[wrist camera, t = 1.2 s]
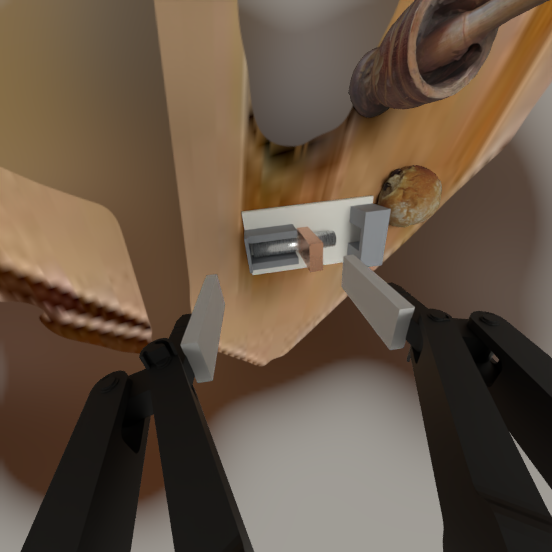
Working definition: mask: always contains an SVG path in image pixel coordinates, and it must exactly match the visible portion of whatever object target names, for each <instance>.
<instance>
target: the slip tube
mask: <svg viewBox="0 0 552 552" xmlns="http://www.w3.org/2000/svg"><path fill="white" fill-rule="evenodd" d="M335 245H336V235H335V232H334V231H326V232H319V233H313V232H312V231H311V230H310V228H309V227H301V228H297V238H289V239H282V240H274V241H267V242H259V243H252V247H253V254H254V258H255V257H262V256H269V255H276V254H284V253H291V252H299V254H300V255H301V257H302V259H303V261H304V262H305V264H306V266H307V268H308V269H309V271H310V272H314V271H321V270H323V248H327V247H334V246H335Z"/></svg>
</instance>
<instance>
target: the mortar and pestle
mask: <svg viewBox="0 0 552 552" xmlns="http://www.w3.org/2000/svg"><path fill="white" fill-rule="evenodd" d="M546 1H549V0H415V1H414V2H413V3H412V4H411V5H410V6H409V7H408V8H407V9H406V10H405V11H404V12H403V13H402V15H401V16H400V17H399V18H398V19H397V21H396V22H395V23H394V24H393V25H392V26H391V28H390V29H389V31H388V33H387V34H386V36H385V38H384V40H383V41H382V43H381V45H380V47H378V48H375V49H372V50H371V51H369V52H368V53H366V54H365V55H364V56H363V57H362V59H361V60H360V61H359V63H358V64H357V66H356V68H355V70H354V72H353V75H352V78H351V82H350V87H349V92H348V93H349V95H350V98H351V102H352V104H353V106H354V107H355V109H356V110H357V111H358V112H359V114H361V115H362V116H365V117H369V118H371V117H375V116H378V115H380V114H382V113H383V112H385V111H386V110H388V109H389V108H394V109H409V108H414V107H418V106H421V105H424V104H427V103H431V102H435V101H438V100H442V99H445V98H447V97H449V96H452V95H454V94H456V93H457V92H459V91H460V90H461V89H462V88H463V87H465V86H466V85H467V84H469V82H470V80H472V79H473V78H474V77H475V76H476V74H477V73H478V71H479V70H480V68H481V66H482V65H483V63H484V62H485V60H486V59H487V57H488V55H489V53H490V50H491V47H492V44H493V41H494V39H495V37H496V34H497V31H498V28H499V26H501V25H502V24H504V23H506V22H507V21H509V20H510V19H512V18H514V17H516V16H518V15H520V14H522V13H524V12H526V11H528V10H530V9H532V8H534V7H536V6H538V5H540V4H542V3H544V2H546Z"/></svg>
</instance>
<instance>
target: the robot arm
mask: <svg viewBox="0 0 552 552" xmlns="http://www.w3.org/2000/svg"><path fill="white" fill-rule="evenodd" d="M342 288H343V289H344V291H345V292H346V293H347V294H348V296H349V297H350V298H351V300H352V301H353V302H354V304H355V305H356V306H357V308H358V309H359V310H360V311H361V313H362V314H363V315H364V317H365V318H366V319H367V321H368V322H369V323H370V324H371V326H372V327H373V329H374V330H375V331H376V332H377V334H378V335H379V336H380V338H381V339H382V340H383V341H384V343H385V344H386V346H387V347H388V348H389V349H390V350H394V349H399V348H404V344H405V341H406V340H407V341H408V342H409V343H410V344H411V347H410V350H409V353H408V357H407V361H408V362H409V361H410V358H411V361H412V365H413V371H414V376H415V381H416V386H417V391H418V396H419V401H420V406H421V411H422V416H423V421H424V426H425V431H426V436H427V441H428V447H429V451H430V457H431V462H432V466H433V471H434V477H435V482H436V487H437V492H438V497H439V501H440V507H441V512H442V517H443V525H444V531H443V552H552V516H551V515H550V513H549V511H548V509H547V507H546V506H545V504H544V501H543V499H542V497H541V495H540V493H539V491H538V489H537V487H536V485H535V483H534V481H533V479H532V477H531V475H530V473H529V471H528V469H527V467H526V465H525V463H524V461H523V459H522V457H521V455H520V453H519V451H518V449H517V447H516V445H515V443H514V441H513V439H512V437H511V435H512V436H513V437H514V439H515V440H516V441H517V443H518V444H519V445H520V447H521V448H522V450H523V451H524V452H525V454H526V455H527V456H528V458H529V459H530V460H531V462H532V463H533V465H534V466H535V467H536V469H537V470H538V471H539V473H540V474H541V475H542V477H543V478H544V479H545V481H546V482H547V483H548V485H549V486H550V488H551V489H552V358H551V357H550V356H549V355H548V354H546V353H545V352H544V351H543V350H541V349H540V348H539V347H538V346H537V345H535V344H534V343H533V342H532V341H530V340H529V339H528V338H527V337H526V336H524V335H523V334H522V333H521V332H520V331H518V330H517V329H516V328H514V327H513V326H512V325H511V324H510V323H508V322H507V321H506V320H505V319H503V318H501V317H500V316H497V315H495V314H493V313H489V312H482V311H476V312H473V313H471V315H470V317H469V319H457V318H452V317H451V316H450V315H448V314H447V313H445V312H443V311H440V310H436V309H428V308H426V307H425V306H424V305H423V304H422V303H420V302H419V301H418V300H417V299H415V298H414V297H413V296H411V295H410V294H409V293H408V292H406V291H405V290H404V289H403V288H402V287H400V286H398V285H396V284H394V283H386V282H385V281H384V280H382V279H381V278H380V277H379V276H378V275H377V274H375V273H374V272H373V271H372V270H371V269H370V268H368V267H367V266H366V265H365V264H364V263H363V262H361V261H360V260H359V259H358V258H357V257H356V256H354V255H346V256H343V272H342ZM224 308H225V302H224V298H223V295H222V291H221V287H220V283H219V280H218V276H217V274H213V275H206V278H205V280H204V283H203V286H202V288H201V291H200V294H199V296H198V299H197V302H196V304H195V307H194V310H193V312H192V314H185V315H182V316H181V317H180V318H179V319H178V320H177V321H176V324H175V326H174V329H173V330H172V333H171V335H170V337H169V339H167V338H161V339H158V340H155V341H153V342H151V343H149V344H148V345H147V346H146V347H144V348H143V350H142V351H141V353H140V357H139V358H140V359H141V361H142V362H143V364H144V366H145V368H146V369H144V370H142V371H139V372H137V373H134V374H132V375H130V376H128V375H127V373H125V371H116V372H112V373H110V374H108V375H106V376H105V377H103V378H102V379H100V380H99V381H98V382H97V383H96V384H95V386H94V387H93V388H92V390H91V392H90V394H89V397H88V399H87V401H86V404H85V406H84V408H83V411H82V412H81V415H80V417H79V420H78V422H77V424H76V426H75V429H74V431H73V433H72V435H71V438H70V440H69V442H68V445H67V447H66V449H65V452H64V454H63V456H62V458H61V461H60V463H59V465H58V468H57V470H56V472H55V474H54V477H53V479H52V481H51V483H50V486H49V488H48V490H47V493H46V495H45V497H44V499H43V502H42V504H41V506H40V508H39V511H38V513H37V515H36V518H35V520H34V522H33V524H32V527H31V529H30V531H29V534H28V536H27V538H26V541H25V543H24V545H23V547H22V550H21V552H130V551H131V544H132V538H133V530H134V524H135V518H136V511H137V504H138V497H139V490H140V484H141V477H142V471H143V463H144V457H145V450H146V444H147V437H148V430H149V423H150V416H151V415H153V414H154V418H155V425H156V431H157V438H158V445H159V451H160V457H161V464H162V470H163V477H164V484H165V490H166V497H167V503H168V510H169V516H170V523H171V530H172V536H173V543H174V549H175V552H254V550H253V548H252V545H251V542H250V539H249V537H248V534H247V531H246V528H245V526H244V523H243V520H242V518H241V515H240V512H239V509H238V507H237V504H236V501H235V499H234V496H233V493H232V490H231V487H230V485H229V482H228V479H227V476H226V474H225V471H224V468H223V466H222V463H221V460H220V457H219V455H218V452H217V449H216V446H215V444H214V441H213V438H212V435H211V433H210V430H209V427H208V424H207V422H206V419H205V416H204V413H203V411H202V408H201V405H200V403H199V400H198V397H197V394H196V392H195V389H194V387H193V385H192V384H193V380H194V376H195V378H196V381H197V383H200V382H207V381H212V380H213V375H214V369H215V363H216V357H217V351H218V345H219V339H220V333H221V327H222V321H223V314H224ZM494 354H495V355H496V356H497V357H498V359H499V361H498V362H496V361H495V360H494V359H493V358H492V356H493V355H494ZM509 432H510V433H511V435H510V433H509Z"/></svg>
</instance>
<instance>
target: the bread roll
mask: <svg viewBox="0 0 552 552" xmlns="http://www.w3.org/2000/svg"><path fill="white" fill-rule="evenodd" d="M441 193H442V186H441V181H440V180H439V178H438V177H437V176H436V174H435V173H433V172H432V171H431V170H429V169H427V168H425V167H422V166H418V165H415V166H414V165H413V166H409V167H404V168H402V169H397V170H395V171H394V172H392V175H391V177H390V178H389V179H388V180H387V181H386V183H385V184H384V186H383V189H382V191H381V193H380V195H379V202H378V205H380V206H383V207H386V208H389V209H391V212H390V218H389V225H392V226H396V227H407V226H409V225H414V224H418V223H421V222H424V221H425V220H427V219H428V218H430V217H431V216H432V215H433V214H434V213H435V211H436V210H437V208H438V206H439V204H440V198H441Z"/></svg>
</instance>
